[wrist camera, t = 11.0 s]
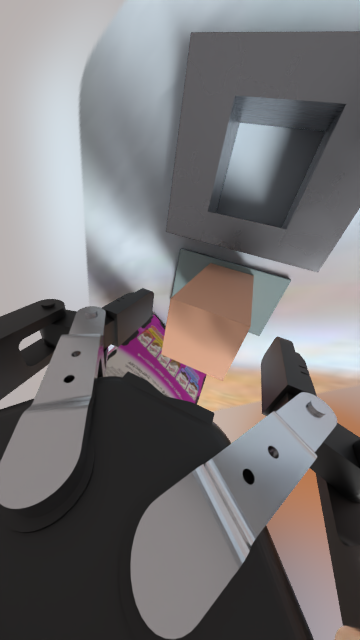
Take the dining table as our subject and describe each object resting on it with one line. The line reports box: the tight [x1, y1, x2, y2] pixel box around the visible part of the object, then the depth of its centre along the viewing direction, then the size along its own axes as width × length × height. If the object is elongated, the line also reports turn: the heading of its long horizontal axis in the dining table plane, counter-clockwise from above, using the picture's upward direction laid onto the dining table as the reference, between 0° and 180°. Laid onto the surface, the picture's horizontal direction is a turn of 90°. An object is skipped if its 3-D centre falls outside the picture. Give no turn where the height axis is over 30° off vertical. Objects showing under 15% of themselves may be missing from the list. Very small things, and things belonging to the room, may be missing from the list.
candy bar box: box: [106, 314, 206, 404], centre depth 17 cm, size 11×5×16 cm, turn 43°
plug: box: [161, 263, 254, 381], centre depth 13 cm, size 4×4×9 cm
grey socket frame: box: [166, 31, 360, 272], centre depth 11 cm, size 11×9×3 cm
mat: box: [172, 249, 291, 336], centre depth 17 cm, size 10×6×1 cm, turn 79°
